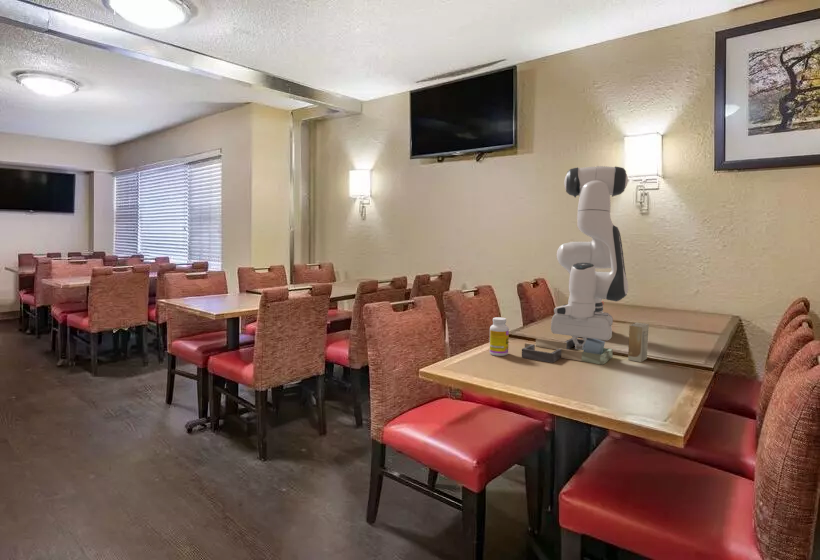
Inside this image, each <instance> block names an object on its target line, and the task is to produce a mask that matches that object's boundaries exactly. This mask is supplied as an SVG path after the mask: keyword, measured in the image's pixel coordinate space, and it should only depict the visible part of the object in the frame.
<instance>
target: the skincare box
mask: <svg viewBox="0 0 820 560" xmlns="http://www.w3.org/2000/svg"><path fill="white" fill-rule="evenodd" d="M649 326H650V324H649V323H641V322H634V323H632V324H630V325H629V327H628V329H629V330H628V331H629V332H628V348H627V349H628V351H627V352H628V353H627V360H628V361H632V362H636V363H637V362H638V363H641V362H644V361H645V360H647V359H648V347H649V346H648V345H649Z"/></svg>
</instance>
